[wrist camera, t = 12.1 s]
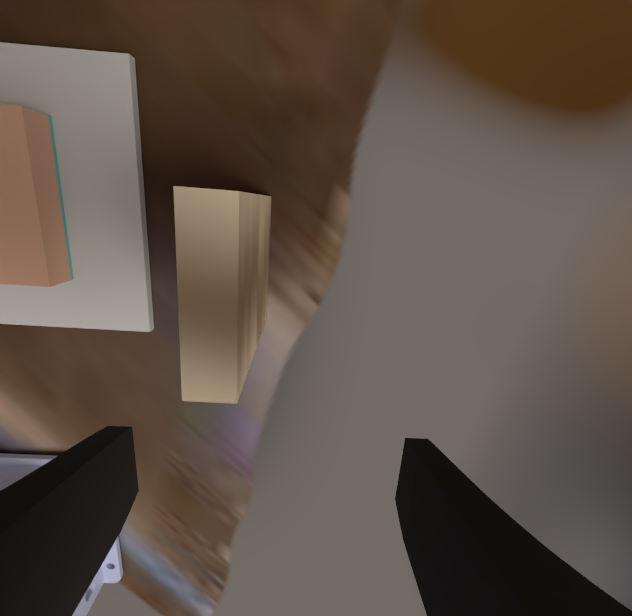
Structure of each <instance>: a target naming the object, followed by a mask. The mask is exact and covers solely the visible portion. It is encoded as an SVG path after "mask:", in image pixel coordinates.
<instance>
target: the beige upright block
mask: <svg viewBox="0 0 632 616" xmlns="http://www.w3.org/2000/svg"><path fill="white" fill-rule="evenodd" d="M173 189H174V214H175V238H176V263H177V287H178V312H179V336H180V361H181V385H182V401H195V402H214V403H233V404H237V402H238V399H239V396H240V393H241V390H242V387H243V385H244V382H245V379H246V376H247V373H248V370H249V367H250V365H251V362H252V359H253V356H254V353H255V350H256V347H257V345H258V342H259V339H260V336H261V333H262V330H263V327H264V325H265V322H266V319H267V301H268V274H269V247H270V220H271V196H265V195H259V194H253V193H247V192H241V191H231V190H219V189H206V188H194V187H181V186H173Z"/></svg>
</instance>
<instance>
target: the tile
mask: <svg viewBox="0 0 632 616" xmlns="http://www.w3.org/2000/svg"><path fill="white" fill-rule="evenodd" d="M73 279H74V277H73V269H72V262H71V255H70V247H69V240H68V233H67V226H66V218H65V211H64V204H63V196H62V189H61V182H60V175H59V167H58V160H57V153H56V145H55V138H54V131H53V124H52V116H50V115H47V114H44V113H41V112H38V111H35V110H32V109H29V108H26V107H23V106H18V105H5V104H0V284H9V285H25V286H42V287H51V286H55V285H58V284H61V283H64V282H67V281H70V280H73Z"/></svg>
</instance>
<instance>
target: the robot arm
mask: <svg viewBox="0 0 632 616" xmlns="http://www.w3.org/2000/svg"><path fill="white" fill-rule="evenodd" d="M138 491H139V490H138V480H137V471H136V461H135V451H134V442H133V432H132V427H120V426H107V427H105V428H104V429H102V430H100V431H98V432H96V433H95V434H93V435H91V436H90V437H88V438H86V439H85V440H83V441H81V442H80V443H78V444H77V445H75V446H73V447H72V448H70V449H68V450H67V451H65V452H64V453H62V454H60V455H59V456H54V455H29V454H4V453H0V616H86V615H87V613H88V611H89V609H90V607H91V606H92V604H93V602H94V599H95V598H96V596H97V594H98V593H99V590H100V589H101V587H102V585H103V583H116V582H118V581H119V580H120V579H121V577H122V575H123V568H122V560H121V552H120V545H119V537H118V535H119V534H120V532H121V529H122V527H123V525H124V523H125V521H126V519H127V516H128V514H129V512H130V509H131V507H132V505H133V502H134V500H135V498H136V495H137V493H138ZM395 500H396V506H397V511H398V516H399V521H400V526H401V531H402V535H403V540H404V543H405V547H406V550H407V553H408V557H409V560H410V563H411V566H412V569H413V573H414V576H415V579H416V582H417V585H418V588H419V592H420V595H421V598H422V601H423V604H424V607H425V610H426V614H427V616H632V611H631V610H630V609H628V608H626V607H625V606H624V605H622V604H621V603H619V602H618V601H617V600H615V599H614V598H612V597H611V596H610V595H608V594H607V593H605V592H604V591H603V590H601V589H600V588H598V587H597V586H596V585H594V584H593V583H592V582H590V581H589V580H588V579H587V578H585V577H584V576H583V575H581V574H580V573H579V572H577V571H576V570H575V569H573V568H572V567H571V566H570V565H568V564H567V563H566V562H564V561H563V560H562V559H560V558H559V557H558V556H557V555H555V554H554V553H553V552H552V551H550V550H549V549H548V548H547V547H545V546H544V545H543V544H542V543H540V542H539V541H538V540H537V539H536V538H534V537H533V536H532V535H531V534H530V533H529V532H527V531H526V530H525V529H524V528H523V527H522V526H520V525H519V524H518V523H517V522H516V521H515V520H513V519H512V518H511V517H510V516H509V515H508V514H507V513H505V512H504V511H503V510H502V509H501V508H500V507H499V506H498V505H497V504H495V503H494V502H493V501H492V500H491V499H490V498H489V497H488V496H486V495H485V493H483V492H482V491H481V490H480V489H479V488H478V487H477V486H476V485H475V484H474V483H473V482H472V481H470V479H469V478H468V477H467V476H466V475H465V474H464V473H462V472H461V471H460V470H459V469H458V468H457V467H456V466H455V465H454V464H453V463H452V462H451V461H450V460H449V459H448V458H447V457H446V456H445V455H444V454H443V453H442V452H441V451H440V450H439V449H438V448H437V447H436V446H435V445H434V444H433V443H432V442H431V441H429V440H428V439H416V438H405V443H404V449H403V455H402V461H401V468H400V473H399V480H398V485H397V491H396V497H395Z"/></svg>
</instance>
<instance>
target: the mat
mask: <svg viewBox="0 0 632 616" xmlns="http://www.w3.org/2000/svg"><path fill="white" fill-rule="evenodd" d="M0 104H5V105H18V106H23V107H26V108H29V109H32V110H35V111H38V112H41V113H44V114H47V115H50V116H52V124H53V131H54V138H55V145H56V153H57V160H58V167H59V175H60V182H61V189H62V196H63V204H64V211H65V218H66V226H67V233H68V240H69V247H70V255H71V262H72V269H73V277H74V279H73V280H70V281H67V282H64V283H61V284H58V285H55V286H51V287H42V286H25V285H9V284H0V324H15V325H33V326H51V327H69V328H87V329H106V330H124V331H142V332H150V331H152V330H153V329H154V320H153V306H152V292H151V278H150V264H149V250H148V236H147V222H146V208H145V194H144V180H143V166H142V152H141V138H140V124H139V110H138V96H137V82H136V68H135V58H133V57H132V56H131V55H130V54H127V53H115V52H104V51H93V50H82V49H70V48H59V47H48V46H36V45H25V44H14V43H2V42H0Z"/></svg>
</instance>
